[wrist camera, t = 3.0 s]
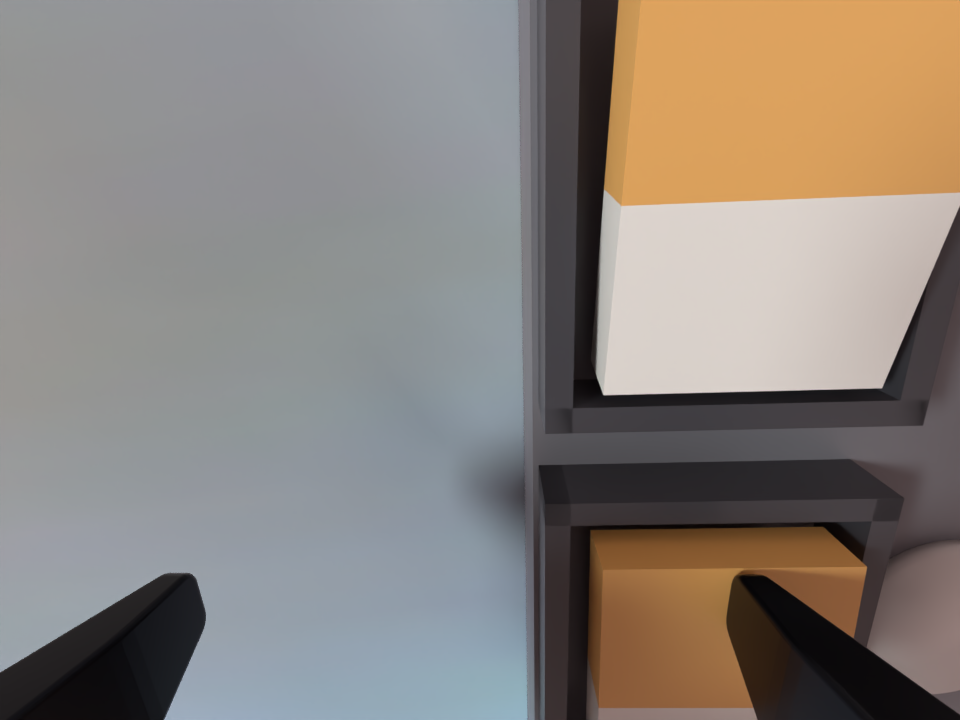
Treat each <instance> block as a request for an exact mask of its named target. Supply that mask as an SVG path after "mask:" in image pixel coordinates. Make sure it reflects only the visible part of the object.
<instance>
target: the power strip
mask: <svg viewBox="0 0 960 720" xmlns="http://www.w3.org/2000/svg"><path fill="white" fill-rule="evenodd" d="M618 2H619V0H518V4H519V82H520V161H521V239H522V317H523V396H524V474H525V552H526V630H527V709H528V720H586V703H587V659H588V615H589V571H590V530H632V529H701V528H770V527H824V528H825V529H826V530H827V531H828V532H829V533H831V534H832V535H833V536H834V537H835V538H836V539H837V540H838V541H839V542H840V543H842V544H843V545H844V546H845V547H846V548H847V549H848V550H849V551H850V552H851V553H853V554H854V555H855V556H856V557H857V558H858V559H859V560H860V561H861V562H862V563H864V564H865V565H866V566H867V571H866V576H865V581H864V587H863V592H862V597H861V602H860V608H859V613H858V618H857V624H856V629H855V634H854V639H855V640H856V641H858V642H859V643H861V644H862V645H863V646H865V647H866V648H868V649H869V650H870V651H872V652H873V653H875V654H876V655H877V656H879V657H880V658H882V659H883V660H884V661H886V662H887V663H889V664H890V665H891V666H893V667H894V668H896V669H897V670H898V671H900V672H901V673H903V674H904V675H905V676H907V677H908V678H910V679H911V680H912V681H914V682H915V683H917V684H918V685H919V686H921V687H922V688H924V689H925V690H926V691H928V692H929V693H931V694H932V695H933V696H935V697H936V698H938V699H939V700H940V701H942V702H943V703H945V704H946V705H947V706H949V707H950V708H952V709H953V710H954V711H956V712H957V713H959V714H960V206H959V209H958V211H957V213H956V216H955V218H954V221H953V223H952V225H951V228H950V230H949V232H948V235H947V237H946V239H945V242H944V244H943V246H942V249H941V251H940V253H939V256H938V258H937V260H936V263H935V265H934V268H933V270H932V272H931V275H930V277H929V279H928V282H927V284H926V286H925V289H924V291H923V293H922V296H921V298H920V300H919V303H918V305H917V307H916V310H915V312H914V314H913V317H912V319H911V322H910V324H909V326H908V329H907V331H906V333H905V336H904V338H903V340H902V343H901V345H900V347H899V350H898V352H897V354H896V357H895V359H894V361H893V364H892V366H891V369H890V371H889V373H888V376H887V378H886V380H885V383H884V385H883V387H882V388H873V389H833V390H793V391H753V392H713V393H673V394H633V395H603V393H602V390H601V387H600V384H599V382H598V379H597V376H596V373H595V370H594V367H593V365H592V362H591V352H592V339H593V326H594V313H595V300H596V287H597V274H598V261H599V248H600V235H601V222H602V209H603V196H604V183H605V170H606V158H607V145H608V132H609V119H610V106H611V93H612V80H613V67H614V54H615V41H616V28H617V15H618Z"/></svg>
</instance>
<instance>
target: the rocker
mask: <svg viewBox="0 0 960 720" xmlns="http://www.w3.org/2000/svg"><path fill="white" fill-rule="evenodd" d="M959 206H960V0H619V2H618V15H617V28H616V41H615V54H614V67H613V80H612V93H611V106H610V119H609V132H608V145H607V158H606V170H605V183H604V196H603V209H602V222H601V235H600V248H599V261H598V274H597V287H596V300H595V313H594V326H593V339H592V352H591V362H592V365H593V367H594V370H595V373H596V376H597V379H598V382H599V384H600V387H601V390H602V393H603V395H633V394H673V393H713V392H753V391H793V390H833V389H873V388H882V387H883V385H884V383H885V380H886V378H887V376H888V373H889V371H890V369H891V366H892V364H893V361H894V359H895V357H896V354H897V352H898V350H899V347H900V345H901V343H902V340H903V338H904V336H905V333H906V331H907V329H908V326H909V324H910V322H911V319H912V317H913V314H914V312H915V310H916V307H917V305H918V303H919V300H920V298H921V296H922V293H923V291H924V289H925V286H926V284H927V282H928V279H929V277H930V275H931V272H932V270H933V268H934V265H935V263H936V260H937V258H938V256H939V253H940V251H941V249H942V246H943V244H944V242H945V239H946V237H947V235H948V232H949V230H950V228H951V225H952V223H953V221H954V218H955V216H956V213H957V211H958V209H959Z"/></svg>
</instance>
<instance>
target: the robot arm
mask: <svg viewBox="0 0 960 720" xmlns="http://www.w3.org/2000/svg"><path fill="white" fill-rule="evenodd" d="M205 621H206V612H205V608H204V604H203V601H202V597H201V594H200V590H199V587H198V583H197V580H196V578H195V577H194V576H193V575H192V574H190V573H167V574H163V575H161V576H160V577H158V578H156V579H155V580H153V581H151V582H150V583H148V584H146V585H145V586H143V587H141V588H140V589H138V590H136V591H135V592H133V593H131V594H130V595H128V596H126V597H125V598H123V599H121V600H120V601H118V602H116V603H115V604H113V605H111V606H110V607H108V608H107V609H105V610H103V611H102V612H100V613H98V614H97V615H95V616H93V617H92V618H90V619H88V620H87V621H85V622H83V623H82V624H80V625H78V626H77V627H75V628H73V629H72V630H70V631H68V632H67V633H65V634H63V635H62V636H60V637H58V638H57V639H55V640H53V641H52V642H50V643H48V644H47V645H45V646H43V647H42V648H40V649H39V650H37V651H35V652H34V653H32V654H30V655H29V656H27V657H25V658H24V659H22V660H20V661H19V662H17V663H15V664H14V665H12V666H10V667H9V668H7V669H5V670H4V671H2V672H0V720H164V719H165V717H166V714H167V712H168V710H169V707H170V705H171V703H172V701H173V698H174V696H175V694H176V691H177V689H178V687H179V685H180V682H181V680H182V678H183V675H184V673H185V671H186V668H187V666H188V664H189V662H190V659H191V657H192V655H193V652H194V650H195V648H196V646H197V643H198V641H199V639H200V636H201V634H202V632H203V629H204V626H205ZM726 625H727V630H728V634H729V637H730V640H731V643H732V646H733V649H734V652H735V655H736V658H737V661H738V664H739V667H740V670H741V673H742V676H743V679H744V682H745V685H746V688H747V691H748V693H749V696H750V699H751V702H752V705H753V708H754V711H755V714H756V717H757V720H960V714H959V713H957V712H956V711H954V710H953V709H952V708H950V707H949V706H947V705H946V704H945V703H943V702H942V701H940V700H939V699H938V698H936V697H935V696H933V695H932V694H931V693H929V692H928V691H926V690H925V689H924V688H922V687H921V686H919V685H918V684H917V683H915V682H914V681H912V680H911V679H910V678H908V677H907V676H905V675H904V674H903V673H901V672H900V671H898V670H897V669H896V668H894V667H893V666H891V665H890V664H889V663H887V662H886V661H884V660H883V659H882V658H880V657H879V656H877V655H876V654H875V653H873V652H872V651H870V650H869V649H868V648H866V647H865V646H863V645H862V644H861V643H859V642H858V641H856V640H855V639H854V638H852V637H851V636H849V635H848V634H847V633H845V632H844V631H842V630H841V629H840V628H838V627H837V626H835V625H834V624H833V623H831V622H830V621H828V620H827V619H826V618H824V617H823V616H821V615H820V614H819V613H817V612H816V611H814V610H813V609H812V608H810V607H809V606H808V605H806V604H805V603H803V602H802V601H801V600H799V599H798V598H796V597H795V596H794V595H792V594H791V593H789V592H788V591H787V590H785V589H784V588H782V587H781V586H780V585H778V584H777V583H775V582H774V581H773V580H771V579H770V578H768V577H766V576H764V575H760V574H739V575H736V576H735V577H734V578H733V580H732V583H731V589H730V596H729V602H728V608H727V616H726Z"/></svg>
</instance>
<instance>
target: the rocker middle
mask: <svg viewBox="0 0 960 720" xmlns="http://www.w3.org/2000/svg"><path fill="white" fill-rule="evenodd" d="M866 571H867V566H866V565H865V564H864V563H862V562H861V561H860V560H859V559H858V558H857V557H856V556H855V555H854V554H853V553H851V552H850V551H849V550H848V549H847V548H846V547H845V546H844V545H843V544H842V543H840V542H839V541H838V540H837V539H836V538H835V537H834V536H833V535H832V534H831V533H829V532H828V531H827V530H826V529H825V528H824V527H770V528H701V529H632V530H590V571H589V615H588V659H587V703H586V720H757V717H756V714H755V711H754V708H753V705H752V702H751V699H750V696H749V693H748V691H747V688H746V685H745V682H744V679H743V676H742V673H741V670H740V667H739V664H738V661H737V658H736V655H735V652H734V649H733V646H732V643H731V640H730V637H729V634H728V630H727V625H726V616H727V608H728V602H729V596H730V589H731V583H732V580H733V578H734V577H735V576H736V575H739V574H760V575H764V576H766V577H768V578H770V579H771V580H773V581H774V582H775V583H777V584H778V585H780V586H781V587H782V588H784V589H785V590H787V591H788V592H789V593H791V594H792V595H794V596H795V597H796V598H798V599H799V600H801V601H802V602H803V603H805V604H806V605H808V606H809V607H810V608H812V609H813V610H814V611H816V612H817V613H819V614H820V615H821V616H823V617H824V618H826V619H827V620H828V621H830V622H831V623H833V624H834V625H835V626H837V627H838V628H840V629H841V630H842V631H844V632H845V633H847V634H848V635H849V636H851V637H852V638H854V634H855V629H856V624H857V618H858V613H859V608H860V602H861V597H862V592H863V587H864V581H865V576H866Z"/></svg>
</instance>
